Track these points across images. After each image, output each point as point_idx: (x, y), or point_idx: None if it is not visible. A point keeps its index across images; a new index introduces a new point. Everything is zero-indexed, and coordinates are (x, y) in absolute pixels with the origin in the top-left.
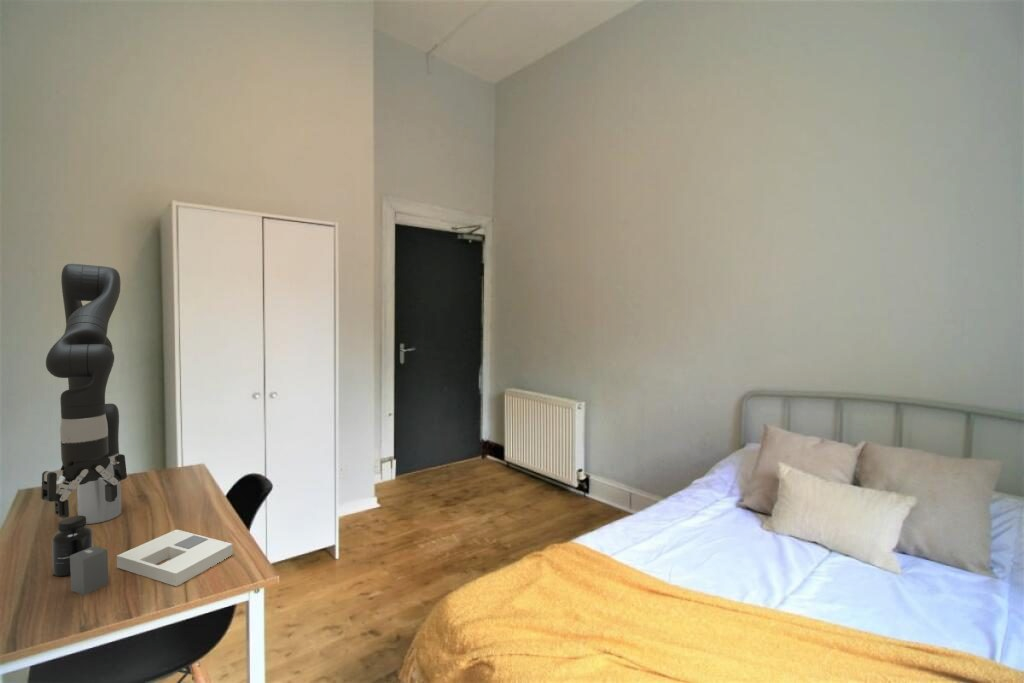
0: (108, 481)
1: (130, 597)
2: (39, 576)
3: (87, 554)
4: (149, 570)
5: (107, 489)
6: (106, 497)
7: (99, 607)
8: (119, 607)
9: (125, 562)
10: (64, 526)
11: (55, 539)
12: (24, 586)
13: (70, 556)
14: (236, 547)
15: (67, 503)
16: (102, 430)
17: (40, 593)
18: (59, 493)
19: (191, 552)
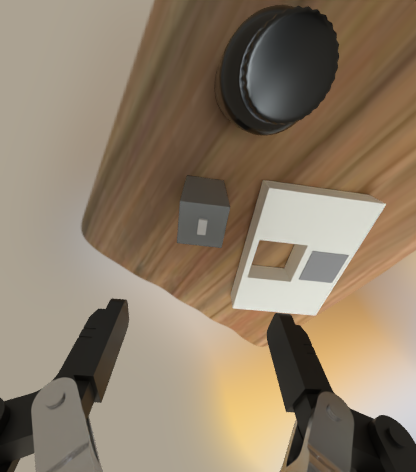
0: (285, 455)
1: (198, 267)
2: (207, 32)
3: (194, 231)
4: (244, 260)
5: (288, 376)
6: (279, 329)
7: (170, 252)
8: (179, 272)
9: (259, 209)
10: (246, 90)
11: (223, 71)
12: (168, 51)
13: (180, 201)
14: (330, 292)
15: (104, 383)
16: None
17: (163, 126)
18: (58, 427)
19: (288, 288)
